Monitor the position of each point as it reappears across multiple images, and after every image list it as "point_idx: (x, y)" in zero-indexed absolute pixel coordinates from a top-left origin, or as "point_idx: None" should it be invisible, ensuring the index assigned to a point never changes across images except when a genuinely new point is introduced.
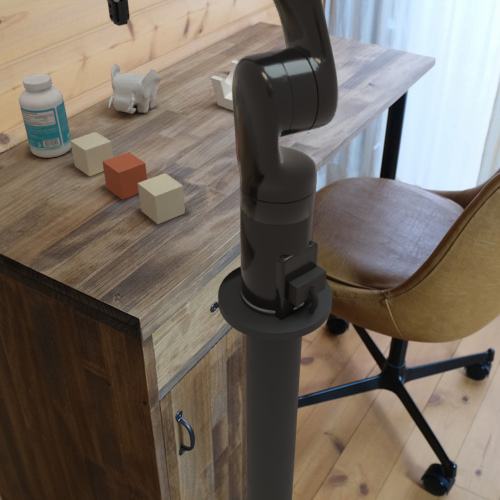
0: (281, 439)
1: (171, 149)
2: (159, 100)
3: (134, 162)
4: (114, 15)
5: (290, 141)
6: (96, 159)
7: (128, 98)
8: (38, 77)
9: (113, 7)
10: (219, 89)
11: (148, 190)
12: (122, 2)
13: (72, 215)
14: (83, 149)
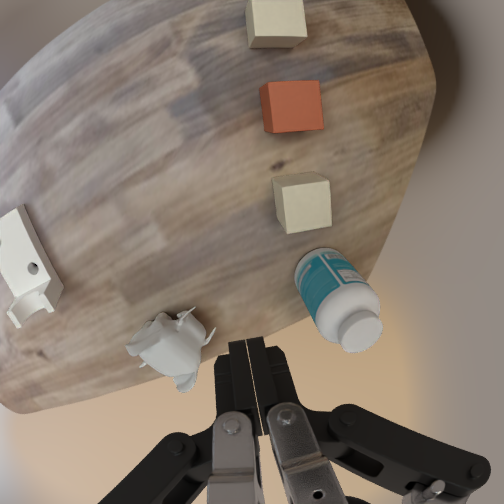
0: None
1: (169, 186)
2: None
3: (282, 93)
4: (283, 365)
5: (18, 133)
6: (306, 177)
7: (186, 326)
8: (358, 340)
9: (291, 388)
10: (51, 290)
11: (303, 11)
12: (251, 403)
13: (368, 95)
14: (329, 185)
